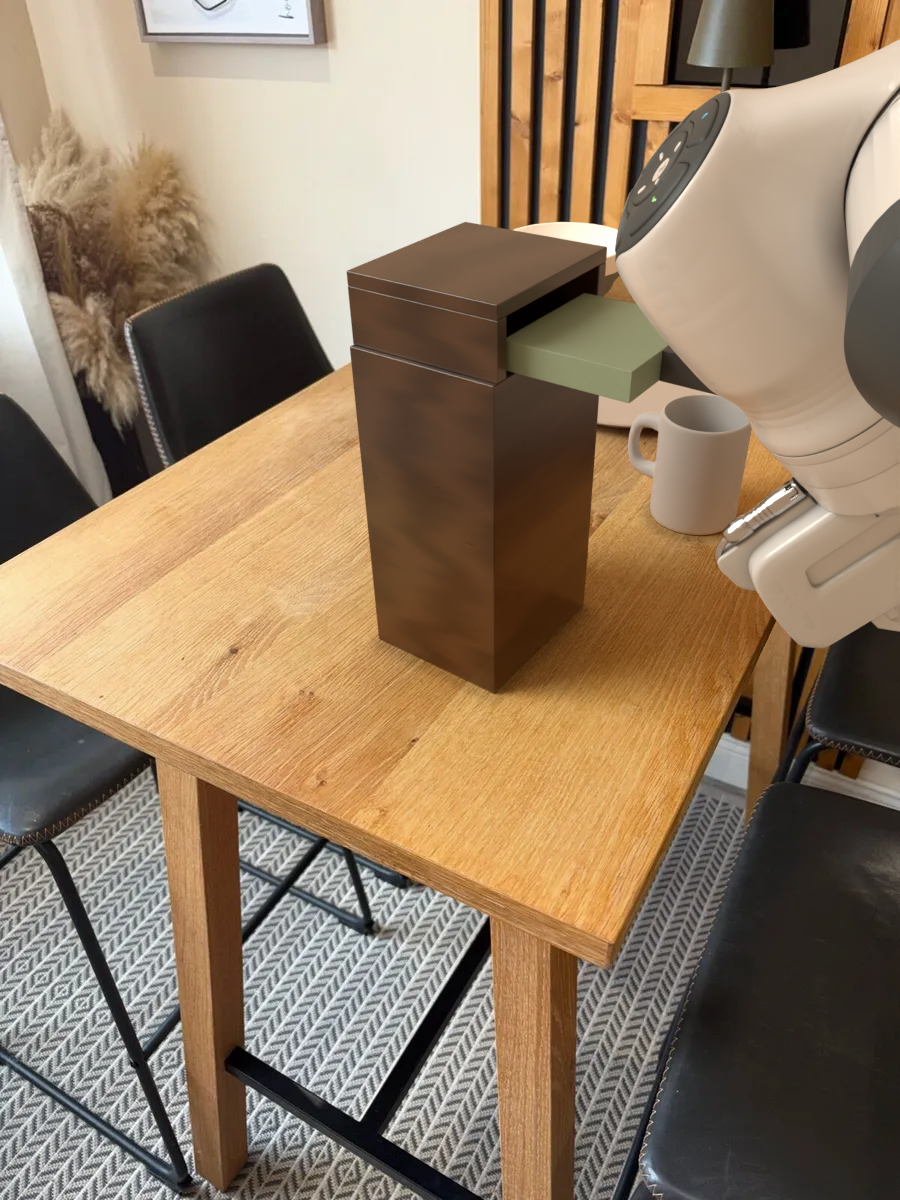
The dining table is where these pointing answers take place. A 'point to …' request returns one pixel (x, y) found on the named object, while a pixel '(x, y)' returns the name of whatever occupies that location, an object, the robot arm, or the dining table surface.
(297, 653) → the dining table surface
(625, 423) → the plate
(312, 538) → the dining table surface
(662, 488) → the mug
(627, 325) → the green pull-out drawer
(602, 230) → the bowl
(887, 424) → the robot arm
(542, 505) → the stand
